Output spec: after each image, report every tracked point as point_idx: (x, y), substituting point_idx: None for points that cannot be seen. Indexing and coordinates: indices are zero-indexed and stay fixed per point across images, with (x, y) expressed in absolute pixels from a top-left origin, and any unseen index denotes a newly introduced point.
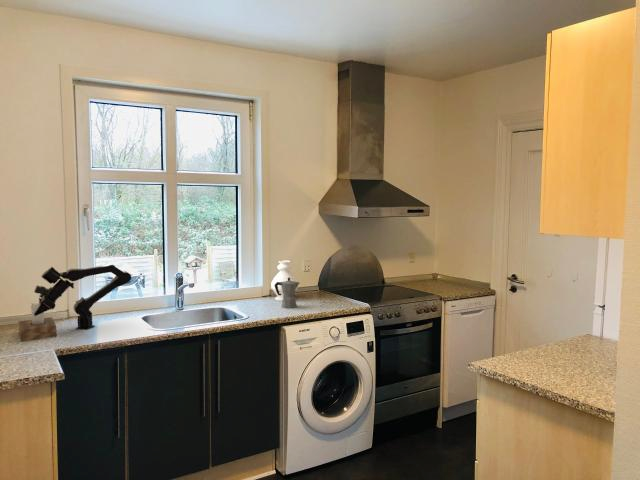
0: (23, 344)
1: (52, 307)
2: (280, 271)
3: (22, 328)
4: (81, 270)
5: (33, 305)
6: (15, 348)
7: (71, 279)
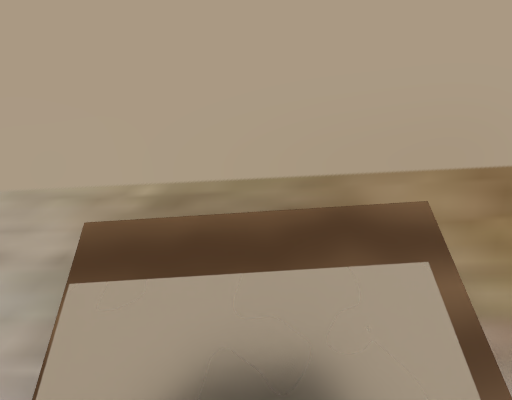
0: (50, 266)
1: None
2: None
3: (126, 237)
4: None
5: (54, 354)
6: (3, 229)
7: None
